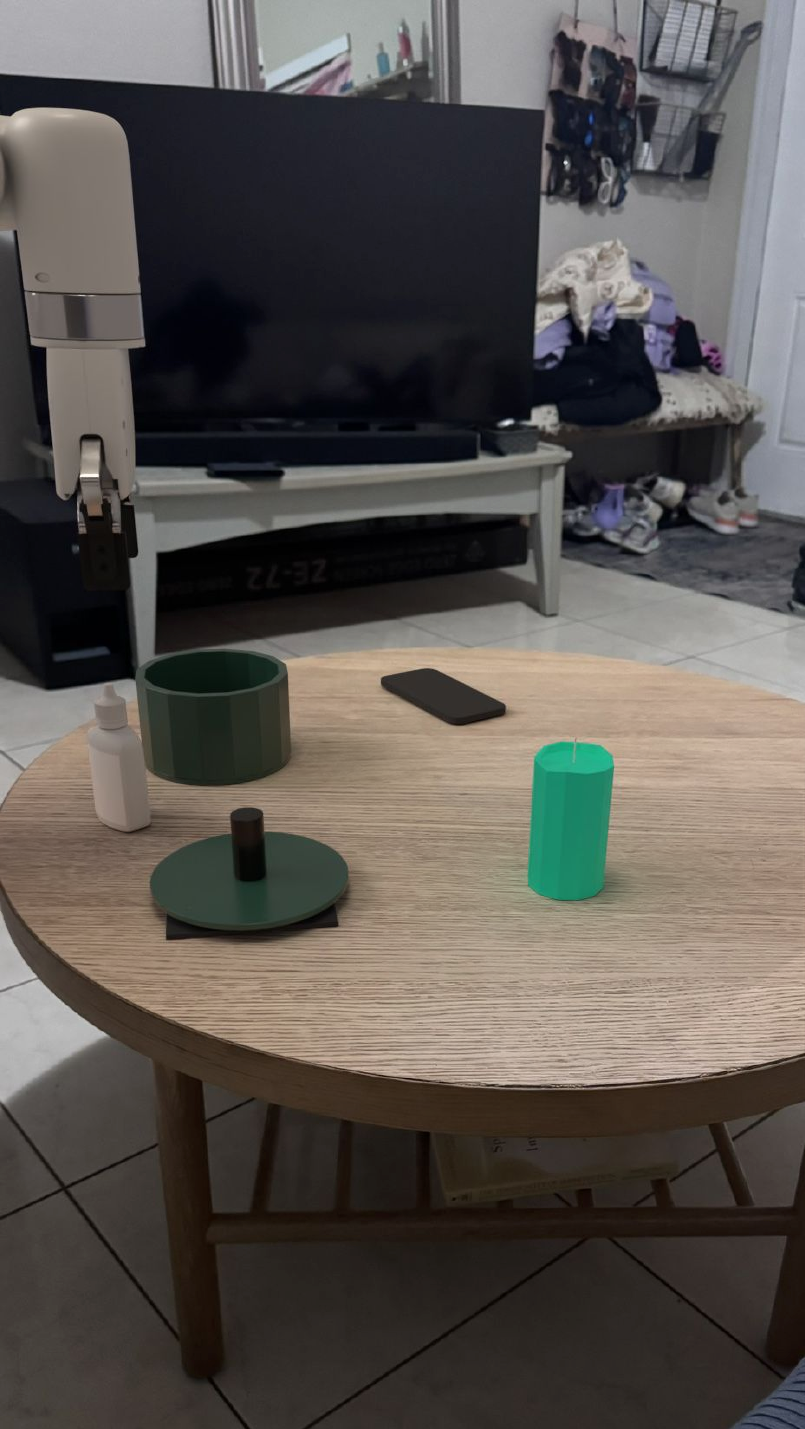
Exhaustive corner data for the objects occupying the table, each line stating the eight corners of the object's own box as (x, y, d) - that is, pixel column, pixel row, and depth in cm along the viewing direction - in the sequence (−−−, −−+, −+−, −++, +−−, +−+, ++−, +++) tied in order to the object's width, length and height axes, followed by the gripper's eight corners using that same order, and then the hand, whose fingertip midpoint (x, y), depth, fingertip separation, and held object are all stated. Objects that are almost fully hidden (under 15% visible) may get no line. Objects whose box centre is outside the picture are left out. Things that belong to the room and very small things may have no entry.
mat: (166, 940, 81) (165, 935, 81) (170, 860, 91) (169, 856, 91) (338, 926, 83) (338, 921, 83) (323, 850, 94) (323, 846, 94)
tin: (141, 789, 103) (132, 698, 100) (147, 733, 115) (139, 651, 112) (295, 781, 106) (291, 692, 102) (285, 727, 118) (282, 646, 114)
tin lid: (146, 946, 79) (138, 867, 77) (154, 849, 92) (147, 779, 90) (359, 929, 82) (358, 852, 80) (338, 837, 95) (336, 769, 92)
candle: (561, 856, 94) (571, 716, 89) (619, 883, 90) (633, 739, 85) (510, 880, 90) (517, 735, 85) (568, 909, 86) (580, 759, 81)
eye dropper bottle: (96, 837, 95) (79, 697, 89) (95, 808, 100) (78, 674, 94) (152, 831, 96) (137, 693, 91) (148, 803, 101) (134, 671, 95)
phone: (453, 719, 119) (376, 677, 130) (453, 727, 119) (376, 684, 130) (511, 706, 123) (430, 666, 134) (510, 713, 123) (430, 673, 134)
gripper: (45, 314, 86) (72, 547, 94) (9, 328, 71) (45, 604, 78) (149, 317, 87) (168, 546, 95) (136, 331, 72) (159, 602, 80)
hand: (112, 572), depth 87 cm, fingers open, 9 cm apart
